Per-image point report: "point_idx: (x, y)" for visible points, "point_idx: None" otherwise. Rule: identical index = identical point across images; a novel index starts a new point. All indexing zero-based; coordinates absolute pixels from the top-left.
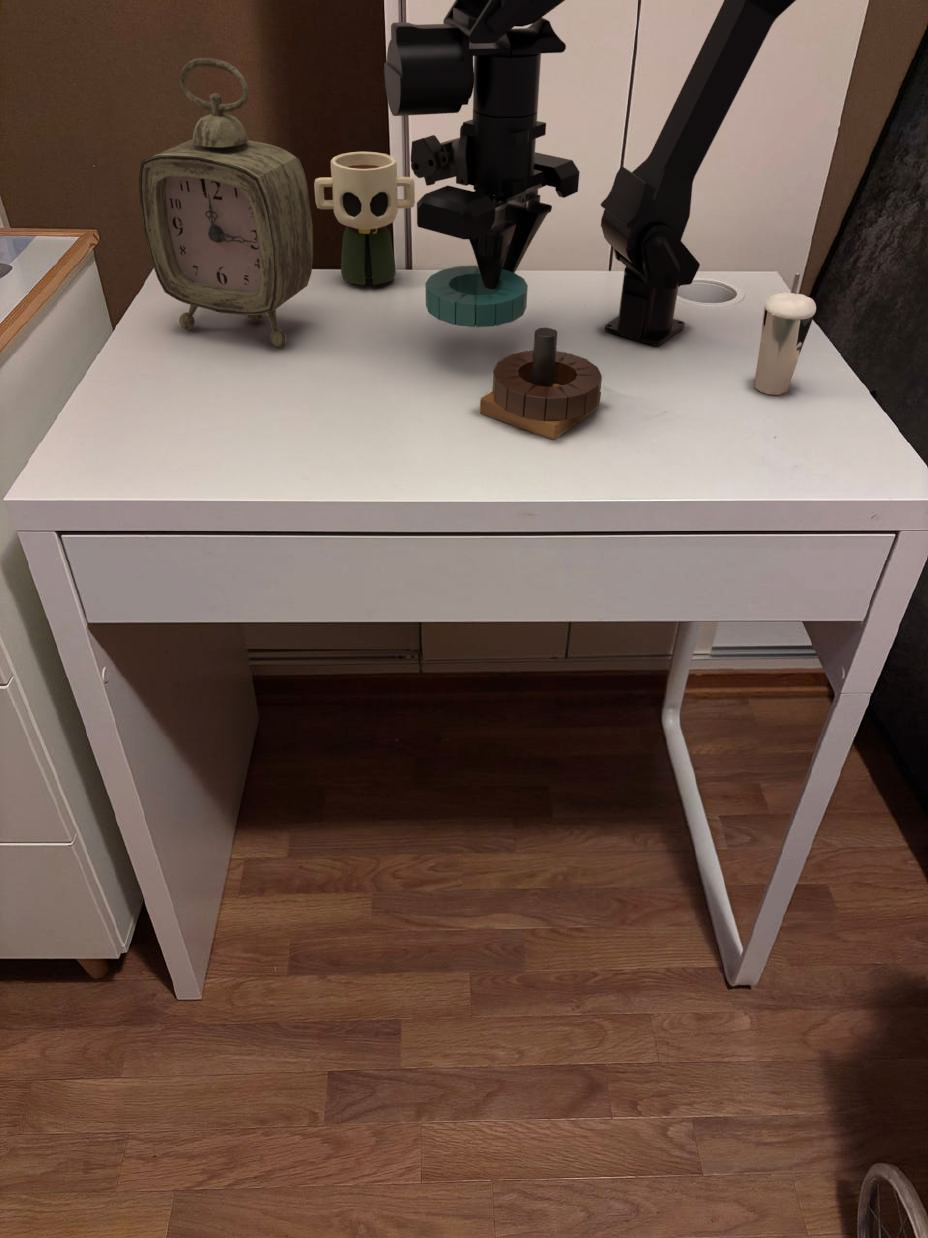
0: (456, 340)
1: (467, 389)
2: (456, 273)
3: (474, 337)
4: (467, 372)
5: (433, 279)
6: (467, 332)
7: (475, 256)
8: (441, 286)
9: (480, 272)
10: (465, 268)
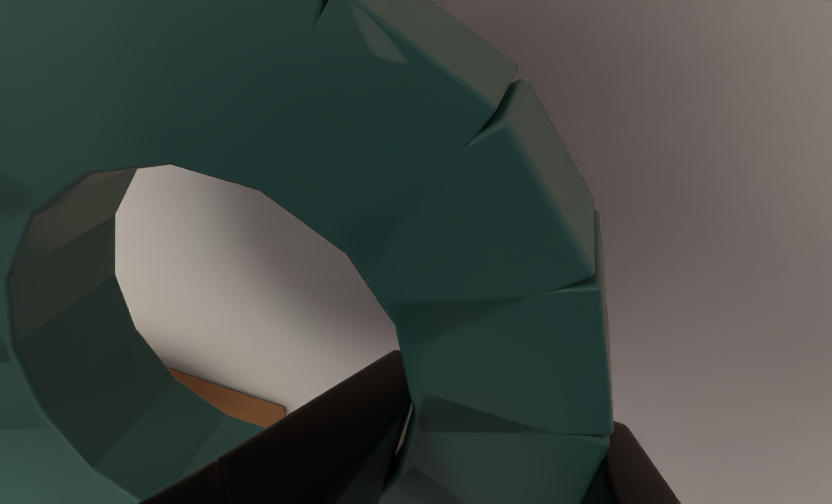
0: (531, 22)
1: (128, 233)
2: (310, 164)
3: (603, 99)
4: (245, 190)
5: (71, 12)
6: (656, 40)
7: (222, 456)
8: (7, 140)
9: (331, 391)
10: (462, 205)
